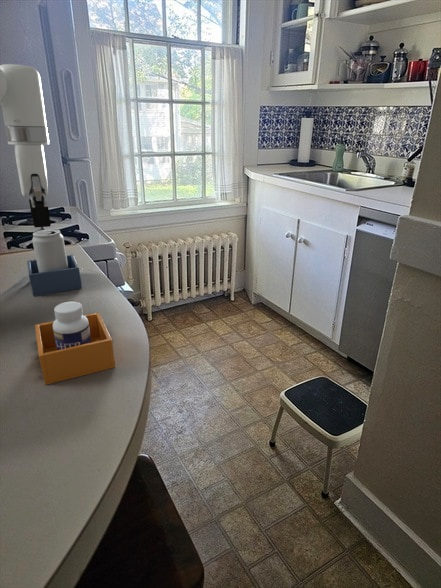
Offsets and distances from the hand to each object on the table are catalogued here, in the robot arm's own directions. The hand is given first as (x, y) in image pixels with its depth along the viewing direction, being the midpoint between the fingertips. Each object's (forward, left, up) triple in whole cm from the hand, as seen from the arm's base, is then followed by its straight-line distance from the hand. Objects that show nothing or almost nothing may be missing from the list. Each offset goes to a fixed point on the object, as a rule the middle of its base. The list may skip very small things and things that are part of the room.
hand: (41, 221), depth 85 cm
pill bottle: (+17, -30, -15) cm, 37 cm away
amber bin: (+17, -30, -15) cm, 37 cm away
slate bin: (+1, 0, -15) cm, 15 cm away
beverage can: (+1, +1, -15) cm, 15 cm away
